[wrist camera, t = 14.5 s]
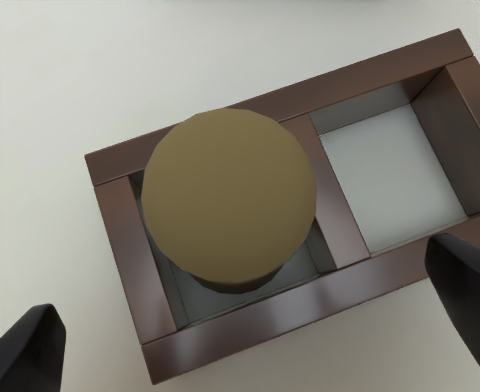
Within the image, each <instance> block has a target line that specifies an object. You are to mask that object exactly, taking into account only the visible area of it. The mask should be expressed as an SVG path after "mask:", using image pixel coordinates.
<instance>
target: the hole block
mask: <svg viewBox="0 0 480 392" xmlns="http://www.w3.org/2000/svg"><path fill="white" fill-rule="evenodd" d="M473 55H474V54H473V52H472V50H471V48H470V46H469V45H468V43H467V41H466V39H465V38H464V36H463V34H462V32H461V30H460V29H459V28H457V29H454V30H451V31H449V32H446V33H443V34H440V35H437V36H434V37H431V38H428V39H425V40H422V41H419V42H416V43H413V44H410V45H407V46H404V47H401V48H398V49H395V50H393V51H390V52H387V53H384V54H381V55H378V56H375V57H372V58H369V59H366V60H363V61H360V62H357V63H354V64H351V65H348V66H345V67H342V68H339V69H336V70H334V71H331V72H328V73H325V74H322V75H319V76H316V77H313V78H310V79H307V80H304V81H301V82H298V83H295V84H292V85H289V86H286V87H283V88H280V89H278V90H275V91H272V92H269V93H266V94H263V95H260V96H257V97H254V98H251V99H248V100H245V101H242V102H239V103H236V104H233V105H230V106H227V107H224V108H228V109H243V110H250V111H253V112H255V113H258V114H261V115H263V116H266V117H269V118H271V119H273V120H275V121H276V122H277V123H279V124H280V125H281V126H282V127H284V128H285V129H286V130H288V131H289V132H290V133H291V134H293V135H294V137H295V138H296V139H297V141H298V142H299V144H300V145H301V147H302V148H303V150H304V151H305V152H306V154H307V155H308V157H309V161H310V164H311V167H312V171H313V174H314V177H315V181H316V185H317V195H316V214H315V217H314V220H313V222H312V225H311V228H310V230H309V233H308V236H307V238H306V240H305V241H306V244H307V246H308V249H309V251H310V253H311V256H312V258H313V261H314V263H315V266H316V268H317V271H318V273H320V274H318V275H315V276H312V277H310V278H307V279H304V280H302V281H299V282H297V283H294V284H291V285H289V286H286V287H284V288H281V289H278V290H276V291H273V292H271V293H268V294H265V295H263V296H260V297H258V298H255V299H252V300H250V301H247V302H245V303H242V304H239V305H237V306H234V307H232V308H229V309H226V310H224V311H221V312H219V313H216V314H213V315H211V316H208V317H205V318H203V319H200V320H198V321H195V322H192V323H190V324H189V320H188V317H187V314H186V311H185V308H184V305H183V302H182V299H181V296H180V293H179V290H178V287H177V284H176V281H175V278H174V275H173V272H172V269H171V266H170V262H169V259H168V257H167V256H165V255H164V254H163V253H162V252H161V251H160V250H159V248H158V246H157V244H156V243H155V241H154V239H153V237H152V236H151V234H150V232H149V230H148V229H147V227H146V222H145V217H144V212H143V207H142V201H141V195H142V188H143V180H144V172H145V168H146V166H147V164H148V162H149V160H150V158H151V156H152V154H153V152H154V149H155V147H156V146H157V144H158V143H159V142H160V141H161V140H162V139H163V138H164V137H165V136H166V135H167V134H168V133H169V132H170V131H171V130H172V129H173V128H174V127H175V126H176V125H178V124H180V123H182V122H180V123H177V124H174V125H171V126H168V127H166V128H163V129H160V130H157V131H154V132H151V133H148V134H145V135H142V136H139V137H136V138H133V139H130V140H127V141H124V142H121V143H118V144H115V145H112V146H110V147H107V148H104V149H101V150H98V151H95V152H92V153H89V154H86V155H85V156H84V157H85V160H86V164H87V167H88V171H89V174H90V177H91V181H92V184H93V186H94V191H95V194H96V198H97V201H98V204H99V208H100V211H101V215H102V218H103V221H104V225H105V228H106V231H107V235H108V238H109V241H110V245H111V248H112V251H113V255H114V258H115V261H116V265H117V268H118V272H119V275H120V278H121V282H122V285H123V288H124V292H125V295H126V298H127V302H128V305H129V308H130V312H131V315H132V319H133V322H134V325H135V329H136V332H137V335H138V339H139V342H140V345H142V346H141V348H142V352H143V355H144V359H145V362H146V365H147V369H148V372H149V375H150V379H151V382H152V385H157V384H159V383H162V382H164V381H167V380H169V379H172V378H174V377H177V376H180V375H182V374H185V373H187V372H190V371H192V370H195V369H197V368H200V367H202V366H205V365H207V364H210V363H212V362H215V361H218V360H220V359H223V358H225V357H228V356H230V355H233V354H235V353H238V352H240V351H243V350H245V349H248V348H251V347H253V346H256V345H258V344H261V343H263V342H266V341H268V340H271V339H273V338H276V337H278V336H281V335H283V334H286V333H289V332H291V331H294V330H296V329H299V328H301V327H304V326H306V325H309V324H311V323H314V322H316V321H319V320H322V319H324V318H327V317H329V316H332V315H334V314H337V313H339V312H342V311H344V310H347V309H349V308H352V307H354V306H357V305H360V304H362V303H365V302H367V301H370V300H372V299H375V298H377V297H380V296H382V295H385V294H387V293H390V292H393V291H395V290H398V289H400V288H403V287H405V286H408V285H410V284H413V283H415V282H418V281H420V280H423V279H425V278H428V277H429V276H428V274H427V272H426V269H425V265H424V259H425V253H426V246H427V240H428V238H429V237H430V236H431V235H435V234H440V233H449V234H451V235H454V236H456V237H458V238H460V239H462V240H465V241H467V242H469V243H471V244H474V245H476V246H478V247H480V64H479V62H478V61H477V59H476V57H475V56H473ZM408 103H411V105H412V107H413V109H414V111H415V113H416V115H417V117H418V119H419V121H420V123H421V125H422V127H423V129H424V131H425V133H426V135H427V137H428V138H429V140H430V142H431V144H432V146H433V148H434V150H435V152H436V154H437V156H438V158H439V160H440V162H441V164H442V166H443V168H444V170H445V172H446V174H447V176H448V178H449V180H450V182H451V184H452V186H453V188H454V190H455V192H456V194H457V196H458V198H459V200H460V202H461V204H462V206H463V208H464V210H465V212H466V214H467V215H468V216H469V217H466V218H463V219H461V220H458V221H456V222H453V223H450V224H448V225H445V226H443V227H440V228H437V229H435V230H432V231H430V232H427V233H424V234H422V235H419V236H417V237H414V238H411V239H409V240H406V241H403V242H401V243H398V244H396V245H393V246H390V247H388V248H385V249H383V250H380V251H377V252H375V253H372V254H370V252H369V250H368V248H367V246H366V243H365V241H364V239H363V237H362V234H361V232H360V230H359V228H358V225H357V223H356V221H355V218H354V216H353V214H352V212H351V209H350V207H349V205H348V203H347V200H346V198H345V196H344V193H343V191H342V189H341V187H340V184H339V182H338V180H337V178H336V175H335V173H334V171H333V169H332V166H331V164H330V162H329V159H328V157H327V155H326V153H325V150H324V148H323V146H322V144H321V141H320V139H319V137H318V135H320V134H323V133H326V132H329V131H331V130H334V129H337V128H340V127H343V126H346V125H348V124H351V123H354V122H357V121H360V120H363V119H365V118H368V117H371V116H374V115H377V114H380V113H382V112H385V111H388V110H391V109H394V108H397V107H399V106H402V105H405V104H408Z"/></svg>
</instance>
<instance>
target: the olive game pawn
mask: <svg viewBox="0 0 480 392" xmlns="http://www.w3.org/2000/svg"><path fill="white" fill-rule="evenodd" d="M316 195H317V185H316V181H315V177H314V174H313V171H312V167H311V164H310V161H309V157H308V155H307V154H306V152H305V151H304V150H303V148H302V147H301V145H300V144H299V142H298V141H297V139H296V138H295V137H294V135H293V134H291V133H290V132H289V131H288V130H286V129H285V128H284V127H282V126H281V125H280V124H279V123H277V122H276V121H275V120H273V119H271V118H269V117H266V116H263V115H261V114H258V113H255V112H253V111H250V110H243V109H228V108H221V109H216V110H212V111H207V112H203V113H199V114H196V115H194V116H192V117H191V118H189V119H187V120H185V121H183V122H182V123H180V124H178V125H176V126H175V127H174V128H173V129H172V130H171V131H170V132H169V133H168V134H167V135H166V136H165V137H164V138H163V139H162V140H161V141H160V142H159V143H158V144H157V146H156V147H155V149H154V152H153V154H152V156H151V158H150V160H149V162H148V164H147V166H146V168H145V172H144V180H143V188H142V195H141V201H142V207H143V212H144V217H145V222H146V227H147V229H148V230H149V232H150V234H151V236H152V237H153V239H154V241H155V243H156V244H157V246H158V248H159V250H160V251H161V252H162V253H163V254H164V255H165V256H167V257H168V258H169V259H170V260H171V261H172V262H173V263H174V264H176V265H177V266H178V267H179V268H180V269H181V270H184V271H186V272H188V273H189V274H190V275H191V276H192V277H193V278H194V279H195V280H196V281H198V282H199V283H200V284H201V285H202V286H204V287H207V288H209V289H211V290H214V291H216V292H218V293H226V294H242V293H246V292H250V291H253V290H257V289H258V288H260V287H261V286H263V285H264V284H266V283H268V282H269V281H271V280H272V279H273V278H274V276H275V275H276V274H277V273H278V271H279V270H280V269H281V268H282V267H283V265H284V263H286V262H287V261H289V260H290V258H291V257H292V256H293V255H294V253H295V252H296V251H297V250H298V248H299V247H300V246H301V245H302V243H303V242H304V241H305V240H306V238H307V236H308V233H309V230H310V228H311V225H312V222H313V220H314V217H315V214H316Z"/></svg>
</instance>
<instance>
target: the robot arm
mask: <svg viewBox="0 0 480 392" xmlns="http://www.w3.org/2000/svg"><path fill="white" fill-rule="evenodd" d="M424 265H425V269H426V272H427V274H428V276H429V278H430V280H431V282H432V284H433V286H434V288H435V290H436V292H437V294H438V296H439V298H440V300H441V302H442V304H443V306H444V308H445V310H446V312H447V314H448V316H449V318H450V319H451V321H452V323H453V325H454V327H455V328H456V330H457V332H458V333H459V335H460V336H461V338H462V340H463V341H464V343H465V344H466V346H467V347H468V349H469V350H470V352H471V354H472V355H473V357H474V358H475V360H476V361H477V363H478V364H479V366H480V247H478V246H476V245H474V244H471V243H469V242H467V241H465V240H462V239H460V238H458V237H456V236H454V235H451V234H449V233H440V234H435V235H431V236H430V237H429V238H428V240H427V246H426V253H425V259H424ZM65 342H66V329H65V326H64V324H63V322H62V320H61V318H60V316H59V314H58V313H57V311H56V309H55V307H54V306H53V305H52V304H43V305H37V306H33V307H32V308H30V309H29V310H28V311H27V312H26V313H25V314H24V315H23V316H22V317H21V318H20V319H19V320H18V321H17V322H16V323H15V324H14V325H13V326H12V327H11V328H10V329H9V330H8V331H7V332H6V333H5V334H4V335H3V336H2V337H1V338H0V392H60V388H61V379H62V370H63V361H64V352H65Z"/></svg>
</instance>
